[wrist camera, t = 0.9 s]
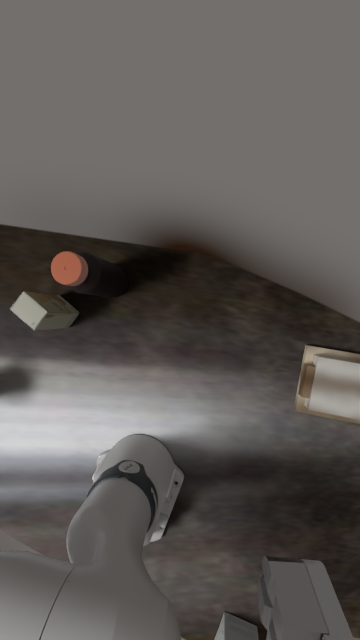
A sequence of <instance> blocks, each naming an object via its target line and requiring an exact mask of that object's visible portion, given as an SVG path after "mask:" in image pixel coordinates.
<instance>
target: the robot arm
mask: <svg viewBox="0 0 360 640" xmlns="http://www.w3.org/2000/svg"><path fill="white" fill-rule="evenodd" d="M92 480H93V485H92V486H91V488H90V491H89V493H88V495H87V498H86V500H85V501H84V503H83V504H82V506H81V507H80V509H79V510H78V511H77V513H76V514H75V516H74V517H73V519H72V521H71V523H70V525H69V528H68V533H67V551H68V555H69V559H70V562H71V563H69V562H65V561H61V560H58V559H54V558H50V557H47V556H43V555H40V554H36V553H32V552H28V551H0V640H181V636H180V629H179V624H178V620H177V617H176V614H175V611H174V609H173V606H172V604H171V602H170V600H169V599H168V598H167V597H166V596H165V595H164V594H163V593H162V592H161V591H160V590H159V589H158V587H157V586H156V585H155V584H154V582H153V581H152V579H151V578H150V576H149V574H148V572H147V570H146V568H145V565H144V562H143V558H142V550H143V546H145V545H148V544H149V543H150V542H152V541H156V540H159V539H160V538H161V537H162V535H163V532H164V530H165V527H166V525H167V522H168V519H169V517H170V514H171V512H172V509H173V506H174V504H175V501H176V499H177V496H178V493H179V491H180V488H181V486H182V483H183V480H184V474H183V472H182V471H181V470H180V469H179V468H178V467H177V466H176V465H175V464H174V462H173V460H172V457H171V455H170V453H169V452H168V450H167V449H166V448H165V446H164V445H163V444H162V443H160V442H159V441H158V440H156V439H154V438H152V437H150V436H146V435H131V436H127V437H125V438H123V439H121V440H120V441H119V442H117V443H116V444H115V445H114V447H113V448H112V449H110V450H108V451H106V452H103V453H101V454H100V455H99V456H98V458H97V470H96V471H95V473H94V474H93V477H92ZM175 481H177V482H178V483H177V484H176V483H175ZM262 569H263V575H262V576H260V577H259V583H258V604H259V612H260V618H261V622H262V624H263V625H264V627H265V628H266V630H267V631H268V632H267V637H266V640H360V638H355V637H353V636H352V633H351V631H350V628H349V626H348V623H347V621H346V618H345V616H344V613H343V611H342V608H341V606H340V603H339V601H338V598H337V596H336V593H335V591H334V588H333V586H332V583H331V581H330V578H329V576H328V573H327V571H326V568H325V566H324V564H323V563H322V562H321V561H318V560H304V559H300V558H288V557H274V556H265V557H264V558H263V562H262Z"/></svg>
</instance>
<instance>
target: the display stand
mask: <svg viewBox="0 0 360 640" xmlns="http://www.w3.org/2000/svg"><path fill="white" fill-rule="evenodd" d="M294 411H296V412H301V413H306V414H311V415H316V416H322V417H327V418H332V419H337V420H342V421H347V422H352V423H357V424H360V354H357V353H351V352H345V351H339V350H333V349H327V348H321V347H315V346H309V345H305V350H304V355H303V361H302V366H301V372H300V377H299V383H298V388H297V394H296V399H295V405H294Z"/></svg>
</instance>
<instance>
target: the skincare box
mask: <svg viewBox="0 0 360 640" xmlns="http://www.w3.org/2000/svg"><path fill="white" fill-rule="evenodd" d="M10 309H11V311H13V312H14V313H15V314H16V315H17V316H18V317H19V318H20V319H21V320H23V321H24V322H25V323H26V324H27V325H28V326H30V327H31V328H32V329H33V330H44V329H57V328H68V327H69V326H70V325H71V324H72V323H73V321H74V320H75V319H76V318H77V316H78V315H79V312H78V311H77V310H76V309H75V308H74V307H73V306H72V305H71V304H69V303H68V302H67V301H66V300H65V299H63V298H62V297H61V296H59V295H50V294H41V293H32V292H22V294H21V295H20V296H19V298H18V299H17V300H16V301H15V303H14V304H13V305H12V307H11V308H10Z"/></svg>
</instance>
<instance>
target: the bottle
mask: <svg viewBox="0 0 360 640" xmlns="http://www.w3.org/2000/svg"><path fill="white" fill-rule="evenodd" d="M51 272H52V276H53V277H54V278H55V279H56V280H57V281H58V282H59V283H60V284H63V285H67V286H68V287H69V288H70V289H71V290H73V291H74V292H77V293H83V294H91V295H98V296H106V297H117V296H119V295H121V294H122V293H123V292H124V291H125V290H126V288H127V285H128V276H127V274H126V272H125V271H124V270H123V269H122V268H121V267H119V266H117V265H115V264H113V263H111V262H108V261H106V260H104V259H102V258H100V257H97V256H95V255H93V254H91V253H87V252H77V253H72V252H68V251H66V252H62V253H59V254H58V255H57V256H56V257H55V258H54V259H53V261H52V265H51Z"/></svg>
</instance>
